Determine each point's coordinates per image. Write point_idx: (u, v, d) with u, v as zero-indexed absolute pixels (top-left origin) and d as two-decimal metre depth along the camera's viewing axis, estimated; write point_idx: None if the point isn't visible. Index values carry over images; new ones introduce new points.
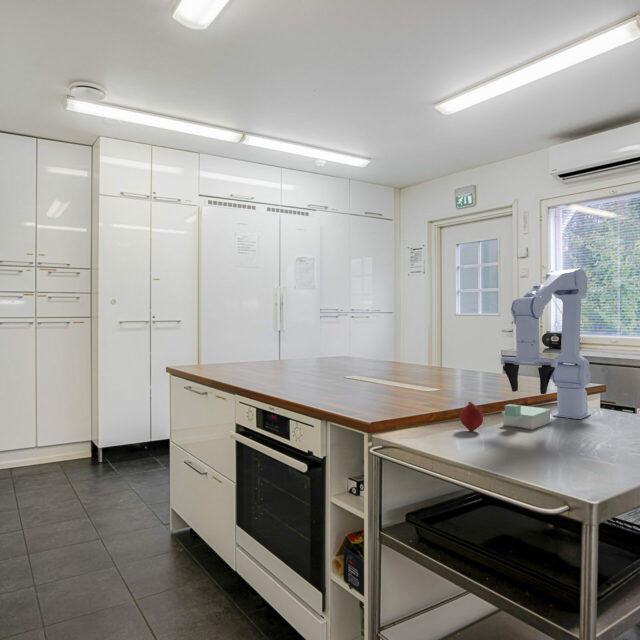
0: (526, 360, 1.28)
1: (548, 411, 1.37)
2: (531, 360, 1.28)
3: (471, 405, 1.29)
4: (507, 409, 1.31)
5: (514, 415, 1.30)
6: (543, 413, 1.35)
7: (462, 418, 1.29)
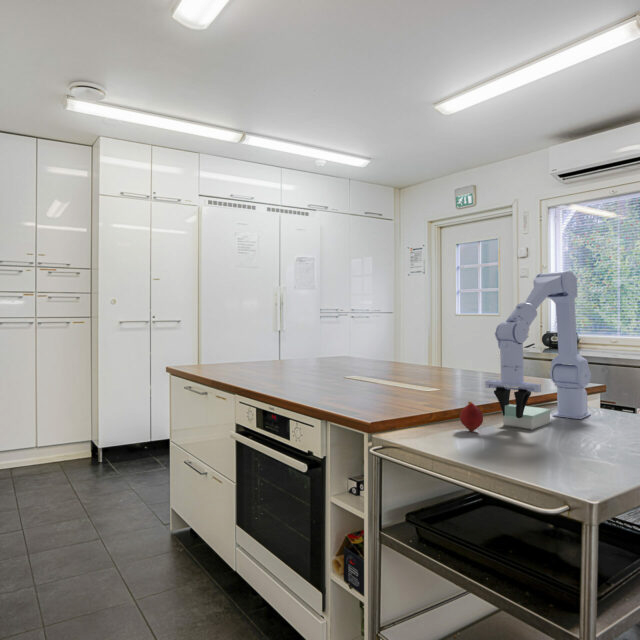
0: (510, 385, 1.28)
1: (548, 411, 1.37)
2: (515, 385, 1.28)
3: (471, 405, 1.29)
4: (507, 409, 1.31)
5: (514, 415, 1.30)
6: (543, 413, 1.35)
7: (462, 418, 1.29)
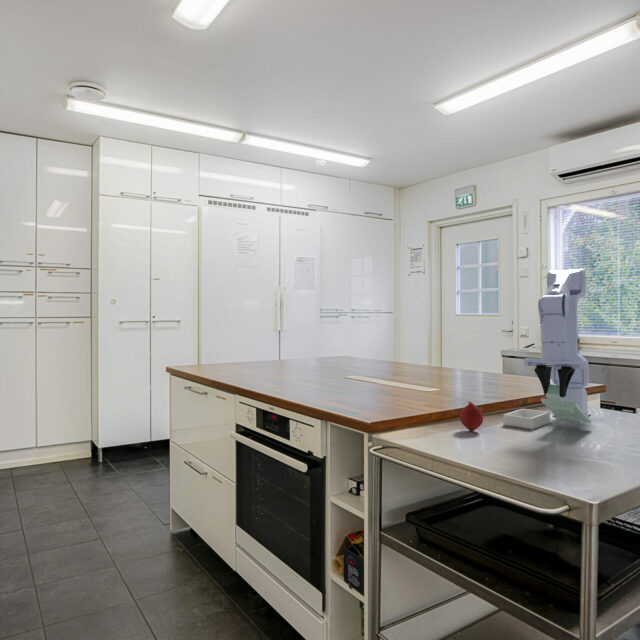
0: (553, 362, 1.21)
1: (589, 419, 1.28)
2: (558, 362, 1.21)
3: (471, 405, 1.29)
4: (551, 388, 1.24)
5: (558, 393, 1.22)
6: (584, 414, 1.26)
7: (462, 418, 1.29)
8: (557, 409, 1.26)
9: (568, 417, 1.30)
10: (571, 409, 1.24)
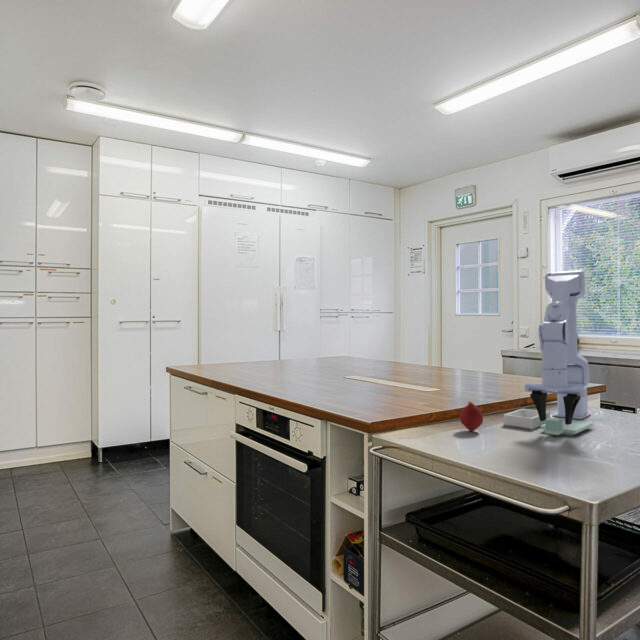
0: (553, 389, 1.21)
1: (590, 425, 1.29)
2: (558, 389, 1.21)
3: (471, 405, 1.29)
4: (548, 423, 1.23)
5: (556, 430, 1.21)
6: (585, 427, 1.26)
7: (462, 418, 1.29)
8: None
9: None
10: (572, 433, 1.24)
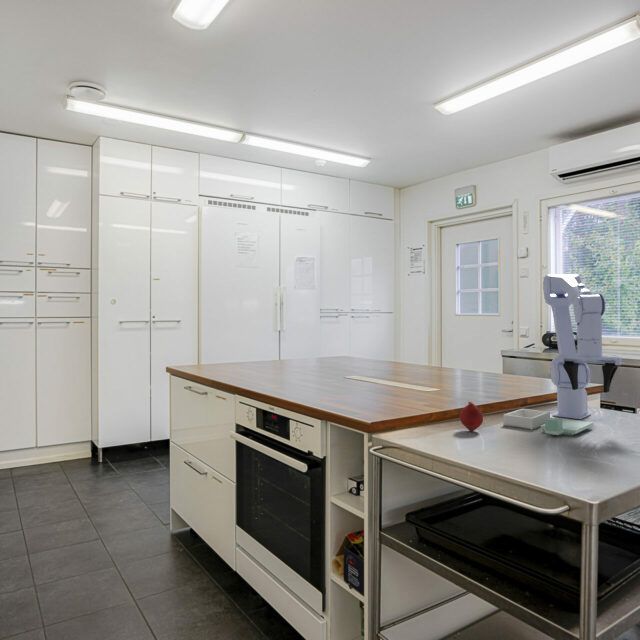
0: (589, 358, 1.27)
1: (590, 425, 1.29)
2: (594, 358, 1.27)
3: (471, 405, 1.29)
4: (548, 423, 1.23)
5: (556, 430, 1.21)
6: (585, 427, 1.26)
7: (462, 418, 1.29)
8: None
9: None
10: (572, 433, 1.24)
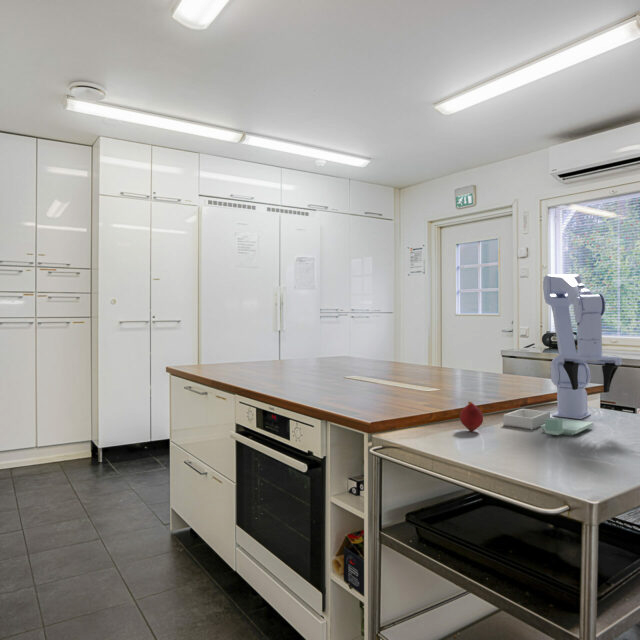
0: (589, 358, 1.27)
1: (590, 425, 1.29)
2: (594, 358, 1.27)
3: (471, 405, 1.29)
4: (548, 423, 1.23)
5: (556, 430, 1.21)
6: (585, 427, 1.26)
7: (462, 418, 1.29)
8: None
9: None
10: (572, 433, 1.24)
